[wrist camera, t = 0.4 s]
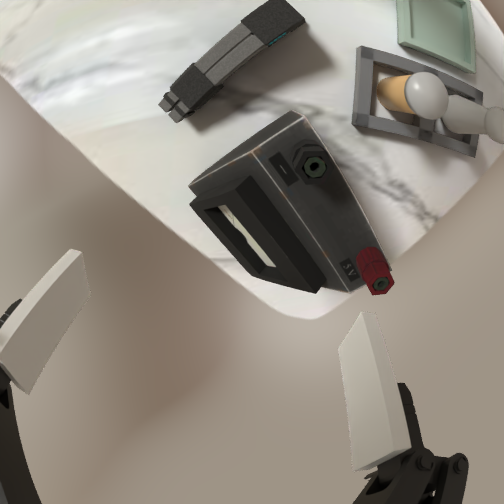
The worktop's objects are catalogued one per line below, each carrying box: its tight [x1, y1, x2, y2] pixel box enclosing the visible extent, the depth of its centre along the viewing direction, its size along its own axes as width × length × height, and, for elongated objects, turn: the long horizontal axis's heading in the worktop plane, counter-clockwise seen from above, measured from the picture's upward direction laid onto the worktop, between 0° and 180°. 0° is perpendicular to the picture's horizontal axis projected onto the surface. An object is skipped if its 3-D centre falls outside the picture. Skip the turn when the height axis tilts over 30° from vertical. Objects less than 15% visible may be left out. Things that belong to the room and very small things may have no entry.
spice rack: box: [352, 46, 483, 158], centre depth 23 cm, size 11×21×10 cm, turn 88°
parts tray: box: [396, 0, 476, 73], centre depth 19 cm, size 14×13×2 cm
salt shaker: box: [441, 95, 504, 144], centre depth 22 cm, size 6×6×13 cm
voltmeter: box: [188, 110, 394, 295], centre depth 29 cm, size 16×16×20 cm
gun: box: [158, 0, 305, 123], centre depth 26 cm, size 4×20×10 cm, turn 130°
